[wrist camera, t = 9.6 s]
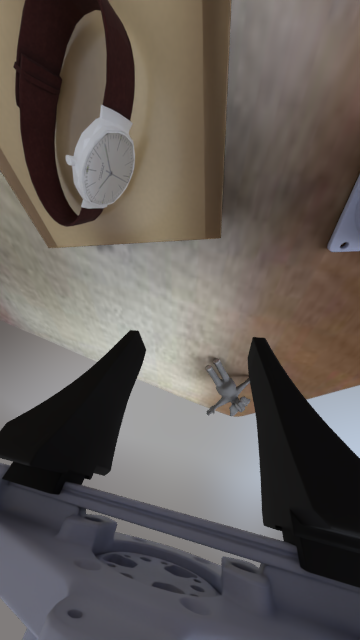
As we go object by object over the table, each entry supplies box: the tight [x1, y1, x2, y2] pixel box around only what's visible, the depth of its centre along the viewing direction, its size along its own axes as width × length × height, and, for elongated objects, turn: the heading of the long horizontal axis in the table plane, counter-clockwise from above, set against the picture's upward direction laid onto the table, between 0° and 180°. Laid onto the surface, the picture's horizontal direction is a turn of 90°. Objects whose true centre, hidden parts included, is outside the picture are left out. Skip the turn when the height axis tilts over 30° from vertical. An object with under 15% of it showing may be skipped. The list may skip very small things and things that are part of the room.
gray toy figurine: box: [205, 359, 250, 416], centre depth 28 cm, size 10×6×9 cm
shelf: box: [0, 0, 231, 248], centre depth 10 cm, size 13×10×5 cm
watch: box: [13, 0, 135, 227], centre depth 7 cm, size 8×5×4 cm, turn 146°
